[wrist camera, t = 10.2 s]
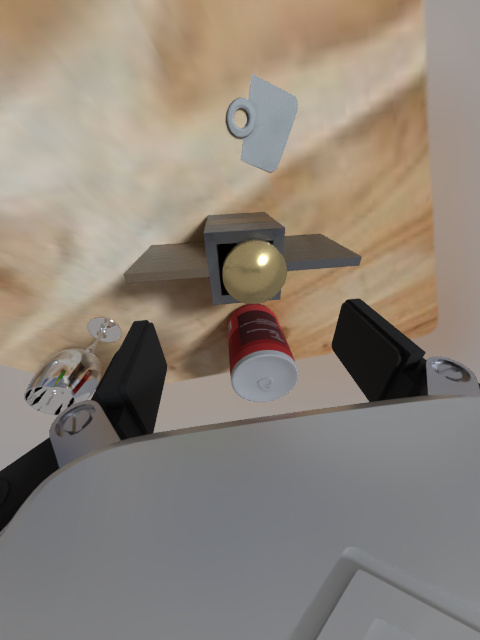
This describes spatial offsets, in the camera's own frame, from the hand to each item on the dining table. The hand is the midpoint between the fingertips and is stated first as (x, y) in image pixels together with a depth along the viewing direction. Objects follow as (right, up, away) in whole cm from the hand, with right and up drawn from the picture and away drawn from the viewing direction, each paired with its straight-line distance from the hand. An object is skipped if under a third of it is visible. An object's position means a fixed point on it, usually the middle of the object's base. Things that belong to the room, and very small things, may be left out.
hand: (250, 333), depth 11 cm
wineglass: (-20, -1, +21) cm, 29 cm away
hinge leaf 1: (-4, +10, +15) cm, 18 cm away
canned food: (+1, 0, +22) cm, 22 cm away
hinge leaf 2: (+3, +10, +15) cm, 19 cm away
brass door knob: (0, +10, +15) cm, 18 cm away
